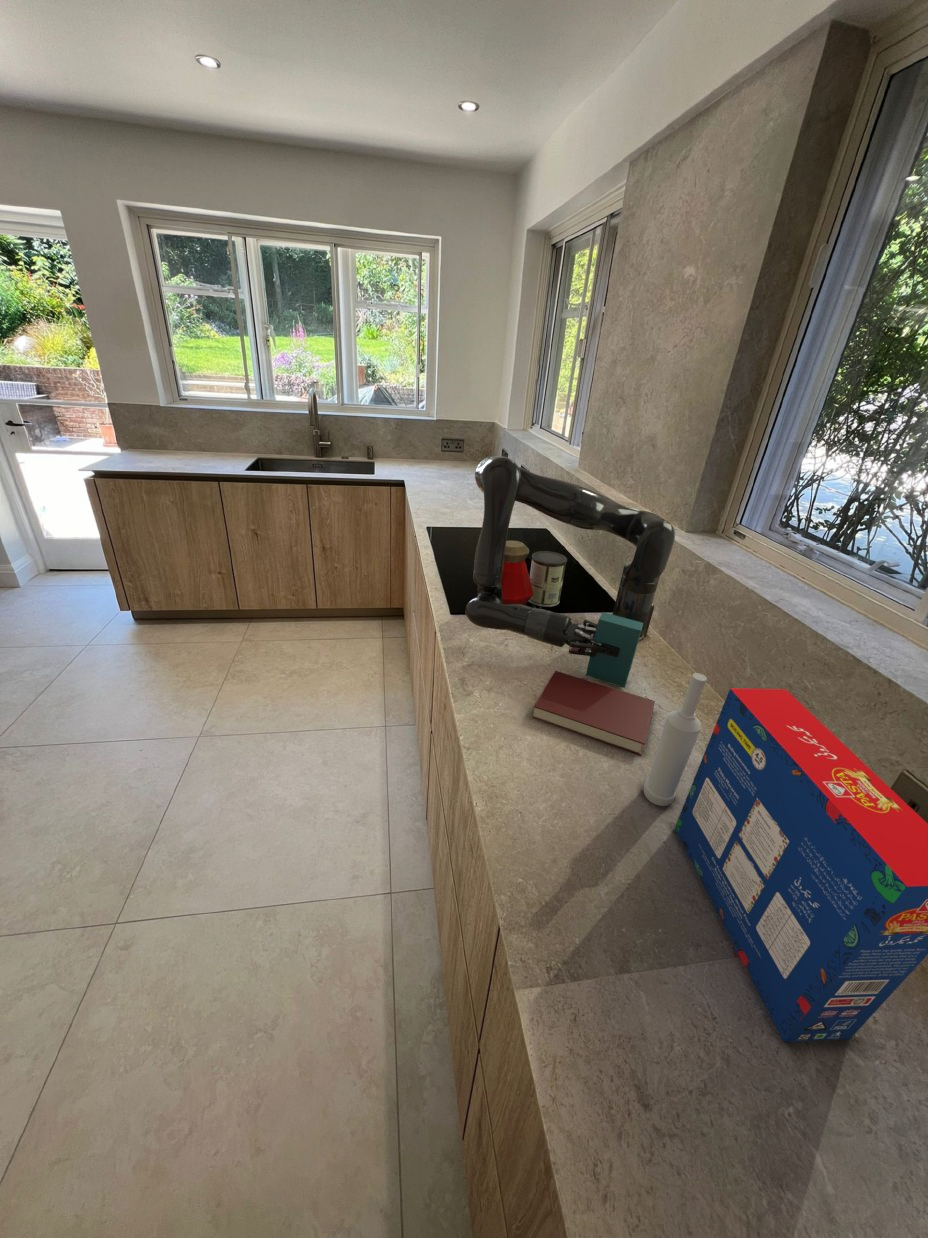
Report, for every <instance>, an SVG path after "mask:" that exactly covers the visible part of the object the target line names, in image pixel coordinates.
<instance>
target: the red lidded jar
mask: <svg viewBox="0 0 928 1238" xmlns="http://www.w3.org/2000/svg"><path fill="white" fill-rule="evenodd" d="M529 553H530V549H529V547H528V546H527V545H526V544H525V543H523V542H522V541H519V540H506V548H505V556H504V565H503V574H502V580H501V582H502V592H503V604H505V605H508V604H513V603H517V604H522V605H525V606H526V605H527V604H528V603H529V599H530V598H531V597H532V596H533V588H532V584H531V581H530V573H529V570H528V567H527V563H526V559H527V557H528V556H529Z"/></svg>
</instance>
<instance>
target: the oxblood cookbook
mask: <svg viewBox="0 0 928 1238" xmlns="http://www.w3.org/2000/svg"><path fill="white" fill-rule="evenodd" d="M655 703H656V700H654V699H650V698H646V697H643V696H640V695H637V694H633V693H630V692H628V691H623V690H621V689H617V688H614V687H610V686H608V685H604V684H601V683H597V682H594V681H591V680H587V679H585V678H582V677H578V676H574V675H571V674H568V673H564V672H561V671H558V670H554V671H553V673H552V675H551V677H550V679H549V680H548V682H547V684H546V685H545V687H544V689H543V690H542V692H541V694H540V696H539V697H538V698H537V701H536V702H535V704H534V706H533V708H534V709H533V715H532V719H535V720H538V721H541V722H543V723H546V724H549V725H553V726H555V727H558V728H560V729H563V730H567V731H568V732H569V731H570V732H573V733H575V734H578V735H581V736H584V737H587V738H590V739H593V740H596V741H599V742H601V743H604V744H606V745H610V746H613V747H615V748H619V749H622V750H624V751H627V752H630V753H633V754H635V755H638V756H642V755H643V751H644V747H645V745H646V742H647V738H648V733H649V729H650V725H651V720H652V716H653V711H654V708H655Z"/></svg>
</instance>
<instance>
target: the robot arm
mask: <svg viewBox="0 0 928 1238" xmlns="http://www.w3.org/2000/svg"><path fill="white" fill-rule="evenodd" d="M474 479H475V484H476V485H477V487H478V489H479V491H481V493H483V504H484V505H483V506H484V507H483V508H484V510H483V518H482V526H481V530H480V533H479V536H478V540H477V543H476V548H475V554H474V562H473V571H472V572H473V573H472V575H473V576H472V578H473V582H474V584H475V585H477V595H476V597H473V598H472V599H470V601H468V603H467V604H466V606H465V615H466V619H468V620H469V622H470V623H472V624H473V625H475V626H477V627H479V628H484V629H491V630H499V631H508V632H511V633H515V634H518V635H522V636H525V637H528V638H529V639H531V640H535V641H538V642H541V643H545V644H547V645H551V646H555V647H557V648H564V646H565V645H566V646H568V647H569V648H568V654H570V655H577V656H584V657H590V656H591V657H595V656H596V654H600V653H603V654H607V655H610V656H613V657H618V654H619V651H620V648H619V647H615V646H612V645H608V644H605V643H603V645H602V643H601V642H599V641H596V640H594V637H595V633H596V629H597V625H598V623H595V622H593V621H590V620H589V619H583V622H582V623H574V622H572V617H571V616H570V615H565V614H562V613H558V612H554V611H551V610H548V609H544V608H538V607H532V606H529V605H526V604H525V605H522V604H517V603H513V604H508V605H505V604H503V592H502V582H501V580H502V574H503V565H504V556H505V548H506V541H508V540H507V538H508V534H509V533H508V532H509V527H510V522H511V518H512V514H513V509H514V506H515V503H516V502H519V503H521V504H524V505H526V506H528V507H531V508H532V509H535V510H536V511H538V512H540V513H542V514H544V515H545V516H547V517H549V518H552V519H554V520H556V521H559V522H561V523H564V524H566V525H569V526H571V527H575V528H578V529H581V530H588V531H601V532H602V531H603V532H607V533H610V534H613V535H615V536H617V537H620V538H622V539H624V540H626V541H627V542H629V543H630V544H632V545H633V546H634V547H635V552H634V554H633V555H634V556H633V558H632V560H628V561H626V562H625V563H624V565H623V569H622V573H621V577H620V581H619V582H620V583H619V586H618V590H617V594H616V597H615V603H614V607H613V612H612V615H615V616H619V617H623V618H627V619H630V620H634V621H638V622H642V623H643V627H642V630H641V634H640V637H639V641H638V642H640V641H642V640H644V637H647V635H648V631H649V627H650V624H651V620H652V616H653V613H654V610H655V605H654V604H653V602H654V600H655V595H656V592H657V589H658V586H659V585H658V584H659V581H660V578H661V576H662V574H663V573H664V572H665V570H666V568H667V566H668V562H669V559H670V557H671V553H672V551H673V547H674V545H675V540H676V530H675V527H674V525H673V524H672V523H671V522H669V520H666V519H665V518H663V517H661V516H660V515H658V514H657V513H654V512H651V511H648V510H642V509H638V508H634V507H631V506H626V505H624V504H620V503H618V502H617V501H614V500H613V499H610V498H609V497H607V496H605V495H603V494H601V493H599V492H596V491H595V490H591V489H589V488H587V487H585V486H581V485H578V484H575V483H573V482H569V481H565V480H562V479H558V478H554V477H548V476H544V475H540V474H536V473H533V472H531V471H529V470H527V469H525V468H523V467H520V466H518V464H517V463H516V461H514V460H513V459H511V458H510V457H506V456H502V455H490V456H487V457H485V458H484V459H482V460H481V461H480V462H479V463H478V464H477V466H476V468H475V471H474ZM594 644H595V645H594Z"/></svg>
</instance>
